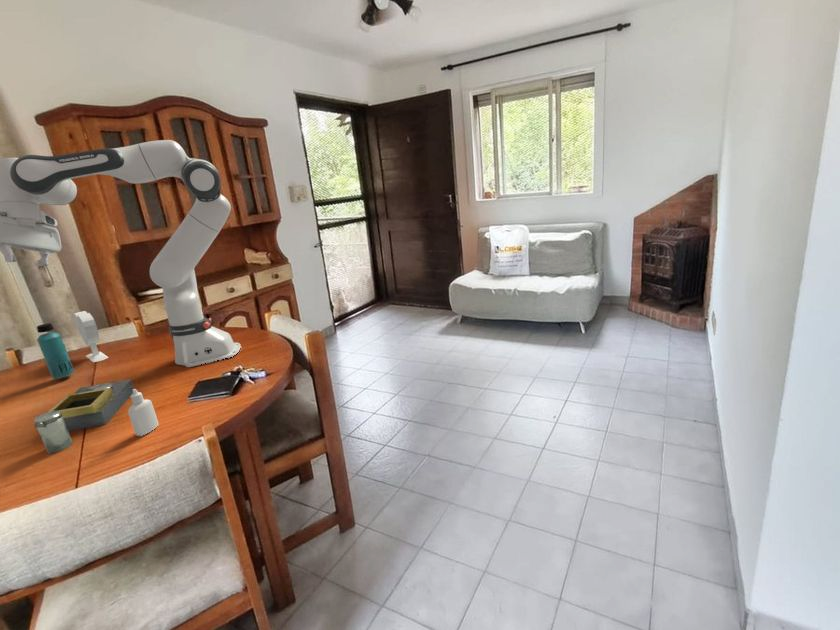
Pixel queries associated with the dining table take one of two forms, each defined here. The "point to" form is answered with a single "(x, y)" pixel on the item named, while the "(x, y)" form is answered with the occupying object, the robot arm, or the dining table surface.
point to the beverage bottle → (54, 352)
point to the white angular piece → (89, 334)
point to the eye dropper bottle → (142, 414)
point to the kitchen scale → (93, 404)
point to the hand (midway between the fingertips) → (27, 263)
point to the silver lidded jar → (53, 431)
